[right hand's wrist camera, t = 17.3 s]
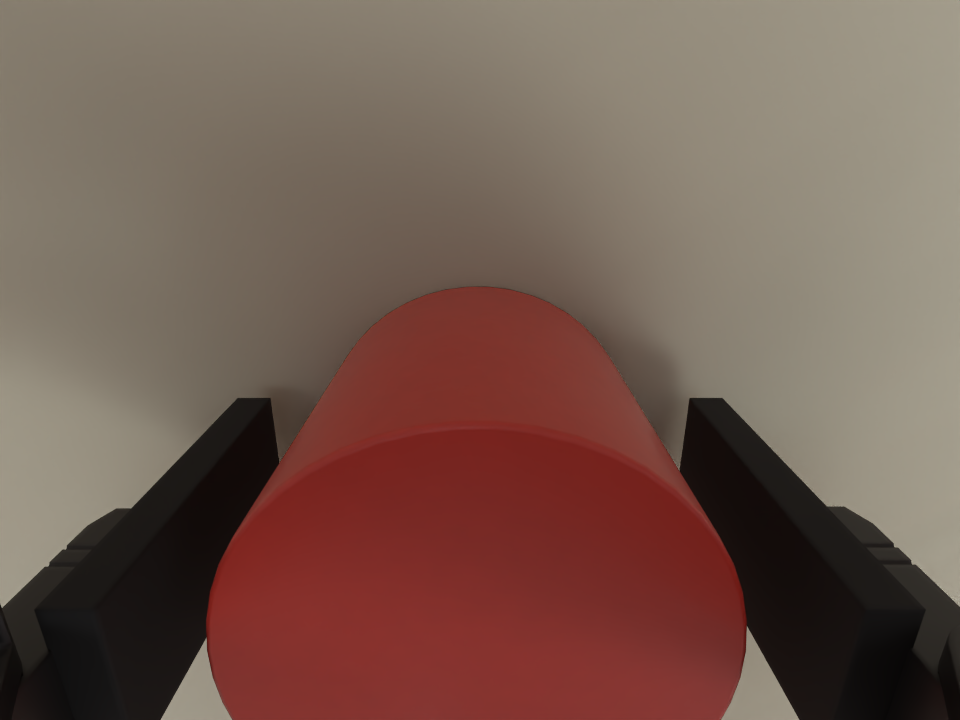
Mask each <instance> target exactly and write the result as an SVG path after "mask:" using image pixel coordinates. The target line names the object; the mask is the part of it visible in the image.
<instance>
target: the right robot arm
mask: <svg viewBox="0 0 960 720" xmlns="http://www.w3.org/2000/svg"><path fill="white" fill-rule="evenodd" d="M278 465H279V458H278V450H277V443H276V436H275V428H274V421H273V414H272V407H271V399H270V398H237V399H236V401H235V402H234V403H233V404H232V405H231V406H230V407H229V408H228V409H227V410H226V411H225V412H224V413H223V414H222V415H221V416H220V417H219V418H218V419H217V420H216V421H215V422H214V423H213V424H212V425H211V426H210V427H209V429H208V430H207V431H206V432H205V433H204V434H203V435H202V436H201V437H200V438H199V439H198V440H197V441H196V442H195V443H194V444H193V445H192V446H191V447H190V448H189V449H188V450H187V451H186V452H185V453H184V454H183V455H182V457H181V458H180V459H179V460H178V461H177V462H176V463H175V464H174V465H173V466H172V467H171V468H170V469H169V470H168V471H167V472H166V473H165V474H164V475H163V476H162V477H161V478H160V479H159V480H158V481H157V482H156V483H155V485H154V486H153V487H152V488H151V489H150V490H149V491H148V492H147V493H146V494H145V495H144V496H143V497H142V498H141V499H140V500H139V501H138V502H137V503H136V504H135V505H134V506H133V507H132V508H131V509H115V510H113V511H111V512H110V513H108V514H106V515H105V516H103V517H101V518H100V519H98V520H96V521H95V522H93V523H91V524H90V525H88V526H87V527H86V528H85V529H84V530H83V531H82V532H81V533H79V534H78V535H77V536H76V537H75V538H74V539H73V540H72V541H71V542H70V543H69V544H68V545H67V549H66V550H62V551H61V552H60V553H59V554H58V555H57V556H56V557H55V558H54V559H53V560H52V561H50V564H49V567H44V568H43V569H42V570H41V571H40V572H39V573H38V574H37V575H36V576H35V577H34V578H33V579H32V580H31V581H30V582H29V583H28V584H27V585H26V586H25V587H24V588H23V589H21V590H20V591H19V592H18V593H17V594H16V595H15V596H14V597H13V598H12V599H11V600H10V601H9V602H8V603H7V604H6V605H5V606H4V607H3V608H1V605H0V720H161V718H162V716H163V714H164V713H165V711H166V709H167V707H168V705H169V704H170V702H171V700H172V698H173V696H174V695H175V693H176V691H177V689H178V687H179V686H180V684H181V682H182V680H183V678H184V677H185V675H186V673H187V671H188V670H189V668H190V666H191V664H192V662H193V661H194V659H195V657H196V655H197V653H198V652H199V650H200V648H201V646H202V644H203V643H204V641H205V639H206V637H207V632H206V618H207V610H208V603H209V595H210V590H211V587H212V584H213V581H214V577H215V574H216V571H217V568H218V565H219V562H220V561H221V559H222V557H223V555H224V553H225V551H226V549H227V547H228V545H229V543H230V541H231V539H232V537H233V536H234V534H235V532H236V531H237V529H238V528H239V526H240V525H241V523H242V521H243V520H244V518H245V517H246V515H247V514H248V512H249V510H250V509H251V507H252V506H253V504H254V502H255V501H256V499H257V498H258V496H259V495H260V493H261V491H262V490H263V488H264V487H265V485H266V484H267V482H268V480H269V479H270V477H271V476H272V474H273V473H274V471H275V469H276V468H277V466H278ZM680 473H681V475H682V476H683V478H684V479H685V481H686V483H687V484H688V486H689V488H690V489H691V491H692V492H693V494H694V496H695V497H696V499H697V501H698V502H699V504H700V505H701V507H702V509H703V510H704V512H705V514H706V515H707V517H708V519H709V520H710V522H711V523H712V525H713V527H714V528H715V530H716V532H717V533H718V535H719V536H720V538H721V540H722V542H723V544H724V546H725V548H726V550H727V552H728V554H729V556H730V557H731V559H732V561H733V563H734V566H735V569H736V572H737V575H738V578H739V581H740V585H741V588H742V591H743V597H744V604H745V611H746V618H747V626H748V628H749V630H750V632H751V634H752V635H753V637H754V639H755V641H756V643H757V644H758V646H759V648H760V650H761V652H762V653H763V655H764V657H765V659H766V661H767V662H768V664H769V666H770V668H771V669H772V671H773V673H774V675H775V677H776V678H777V680H778V682H779V684H780V686H781V687H782V689H783V691H784V693H785V695H786V696H787V698H788V700H789V702H790V704H791V705H792V707H793V709H794V711H795V713H796V714H797V716H798V718H799V720H960V607H959V606H958V605H957V604H956V603H955V602H954V601H953V600H952V599H951V598H950V597H949V596H948V595H947V594H946V593H945V592H944V591H943V590H942V589H941V588H939V587H938V586H937V585H936V584H935V583H934V582H933V581H932V580H931V579H930V578H929V577H928V576H927V575H926V574H925V573H924V572H923V571H922V570H921V569H920V568H919V567H918V566H917V565H912V563H911V560H910V559H909V558H908V557H907V556H906V555H905V554H904V553H903V552H902V551H901V550H900V549H899V548H895V547H894V543H893V542H892V541H890V540H889V539H888V538H887V537H886V536H885V535H884V534H883V533H882V532H881V531H880V530H879V529H878V528H877V527H876V526H875V525H874V524H873V523H871V522H869V521H868V520H866V519H864V518H862V517H861V516H859V515H857V514H856V513H854V512H852V511H851V510H849V509H847V508H845V507H827V506H826V505H825V504H824V503H823V502H822V501H821V500H820V499H819V498H818V497H817V496H816V495H815V494H814V493H813V492H812V491H811V490H810V489H809V488H808V487H807V486H806V485H805V483H804V482H803V481H802V480H801V479H800V478H799V477H798V476H797V475H796V474H795V473H794V472H793V471H792V470H791V469H790V468H789V467H788V466H787V465H786V464H785V463H784V462H783V461H782V460H781V459H780V458H779V457H778V455H777V454H776V453H775V452H774V451H773V450H772V449H771V448H770V447H769V446H768V445H767V444H766V443H765V442H764V441H763V440H762V439H761V438H760V437H759V436H758V435H757V434H756V433H755V432H754V431H753V430H752V429H751V427H750V426H749V425H748V424H747V423H746V422H745V421H744V420H743V419H742V418H741V417H740V416H739V415H738V414H737V413H736V412H735V411H734V410H733V409H732V408H731V407H730V406H729V405H728V404H727V403H726V402H725V400H724V399H723V398H690V399H689V407H688V414H687V421H686V429H685V436H684V443H683V450H682V458H681V465H680Z"/></svg>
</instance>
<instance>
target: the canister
mask: <svg viewBox="0 0 960 720" xmlns="http://www.w3.org/2000/svg"><path fill="white" fill-rule="evenodd" d="M746 630H747V618H746V611H745V604H744V597H743V591H742V588H741V585H740V581H739V578H738V575H737V572H736V569H735V566H734V563H733V561H732V559H731V557H730V556H729V554H728V552H727V550H726V548H725V546H724V544H723V542H722V540H721V538H720V536H719V535H718V533H717V532H716V530H715V528H714V527H713V525H712V523H711V522H710V520H709V519H708V517H707V515H706V514H705V512H704V510H703V509H702V507H701V505H700V504H699V502H698V501H697V499H696V497H695V496H694V494H693V492H692V491H691V489H690V488H689V486H688V484H687V483H686V481H685V479H684V478H683V476H682V475H681V473H680V471H679V470H678V468H677V466H676V465H675V463H674V462H673V460H672V458H671V457H670V455H669V453H668V452H667V450H666V449H665V447H664V445H663V444H662V442H661V440H660V439H659V437H658V435H657V434H656V432H655V431H654V429H653V427H652V426H651V424H650V422H649V421H648V419H647V418H646V416H645V414H644V413H643V411H642V409H641V408H640V406H639V405H638V403H637V401H636V400H635V398H634V396H633V395H632V393H631V392H630V390H629V388H628V387H627V385H626V383H625V382H624V380H623V379H622V377H621V375H620V374H619V372H618V370H617V369H616V367H615V366H614V364H613V362H612V361H611V359H610V357H609V356H608V354H607V353H606V351H605V350H604V349H603V347H602V346H601V345H600V343H599V342H598V341H597V339H596V338H595V337H594V336H593V335H592V334H591V333H590V332H589V331H588V330H587V329H586V328H585V327H584V326H583V325H582V324H580V323H579V322H578V321H577V320H575V319H574V318H573V317H571V316H570V315H569V314H568V313H566V312H564V311H562V310H561V309H559V308H557V307H556V306H554V305H552V304H550V303H548V302H546V301H543V300H541V299H539V298H536V297H534V296H531V295H528V294H524V293H521V292H517V291H513V290H509V289H501V288H493V287H463V288H455V289H447V290H443V291H439V292H435V293H432V294H428V295H425V296H422V297H420V298H417V299H415V300H412V301H410V302H408V303H406V304H404V305H402V306H400V307H399V308H397V309H395V310H393V311H392V312H390V313H388V314H387V315H386V316H385V317H383V318H382V319H381V320H379V321H378V322H377V323H375V324H374V325H373V326H372V327H371V328H370V329H369V330H368V331H367V332H366V333H365V334H364V335H363V336H362V337H361V338H360V339H359V341H358V342H357V343H356V345H355V346H354V347H353V349H352V350H351V352H350V353H349V354H348V356H347V357H346V359H345V360H344V362H343V364H342V365H341V367H340V368H339V370H338V372H337V373H336V375H335V376H334V378H333V379H332V381H331V383H330V384H329V386H328V387H327V389H326V390H325V392H324V394H323V395H322V397H321V398H320V400H319V402H318V403H317V405H316V406H315V408H314V409H313V411H312V413H311V414H310V416H309V417H308V419H307V420H306V422H305V424H304V425H303V427H302V428H301V430H300V431H299V433H298V435H297V436H296V438H295V439H294V441H293V443H292V444H291V446H290V447H289V449H288V450H287V452H286V454H285V455H284V457H283V458H282V460H281V461H280V463H279V465H278V466H277V468H276V469H275V471H274V473H273V474H272V476H271V477H270V479H269V480H268V482H267V484H266V485H265V487H264V488H263V490H262V491H261V493H260V495H259V496H258V498H257V499H256V501H255V502H254V504H253V506H252V507H251V509H250V510H249V512H248V514H247V515H246V517H245V518H244V520H243V521H242V523H241V525H240V526H239V528H238V529H237V531H236V532H235V534H234V536H233V537H232V539H231V541H230V543H229V545H228V547H227V549H226V551H225V553H224V555H223V557H222V559H221V561H220V562H219V565H218V568H217V571H216V574H215V577H214V581H213V584H212V587H211V590H210V595H209V603H208V610H207V618H206V632H207V652H208V657H209V661H210V666H211V671H212V676H213V679H214V681H215V684H216V687H217V689H218V692H219V694H220V697H221V699H222V702H223V704H224V706H225V707H226V709H227V711H228V713H229V714H230V716H231V718H232V720H721V719H722V717H723V715H724V713H725V712H726V710H727V708H728V706H729V705H730V703H731V700H732V698H733V695H734V692H735V690H736V687H737V685H738V682H739V679H740V676H741V671H742V667H743V662H744V657H745V652H746Z"/></svg>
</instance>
